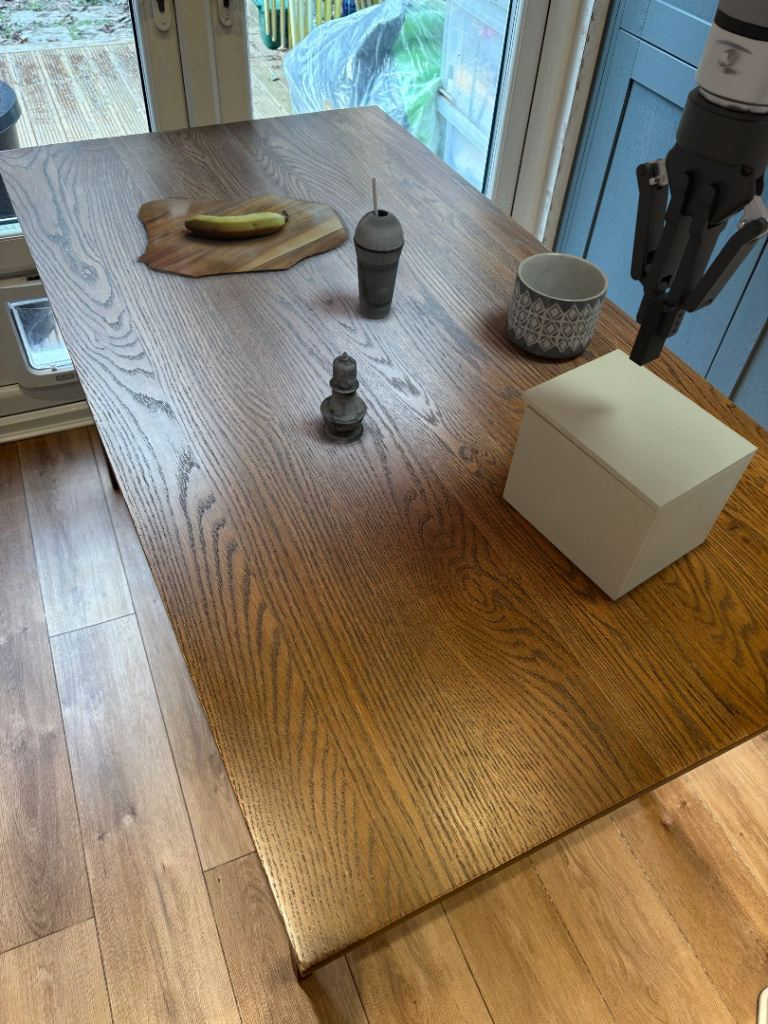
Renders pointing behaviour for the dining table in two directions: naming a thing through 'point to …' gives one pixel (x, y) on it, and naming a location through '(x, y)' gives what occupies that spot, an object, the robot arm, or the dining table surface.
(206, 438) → the dining table surface
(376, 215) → the beverage cup
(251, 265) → the cutting board
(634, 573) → the cream box
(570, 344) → the planter
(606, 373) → the box lid
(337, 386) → the chess piece
